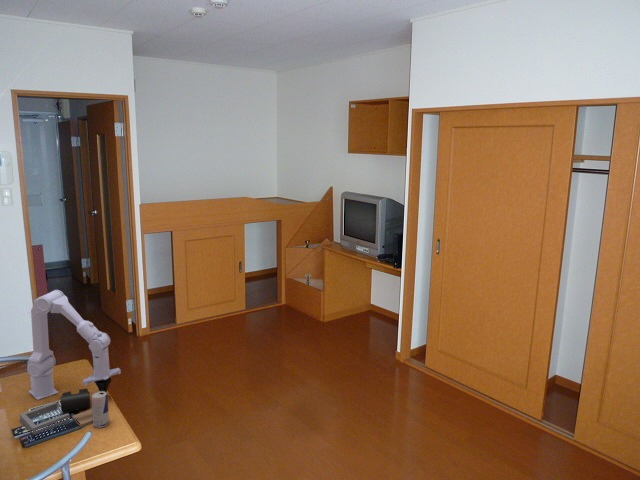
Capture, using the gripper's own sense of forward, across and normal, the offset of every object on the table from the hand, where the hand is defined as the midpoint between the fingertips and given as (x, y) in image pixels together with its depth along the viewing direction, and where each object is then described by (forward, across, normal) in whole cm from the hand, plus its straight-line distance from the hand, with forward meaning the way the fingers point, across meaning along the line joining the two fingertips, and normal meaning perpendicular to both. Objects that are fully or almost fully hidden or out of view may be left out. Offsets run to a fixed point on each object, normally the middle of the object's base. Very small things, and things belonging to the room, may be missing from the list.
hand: (103, 395), depth 200 cm
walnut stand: (+1, -11, -10) cm, 15 cm away
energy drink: (+2, -9, -17) cm, 19 cm away
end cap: (+2, -11, 0) cm, 11 cm away
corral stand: (+1, -22, 0) cm, 22 cm away
